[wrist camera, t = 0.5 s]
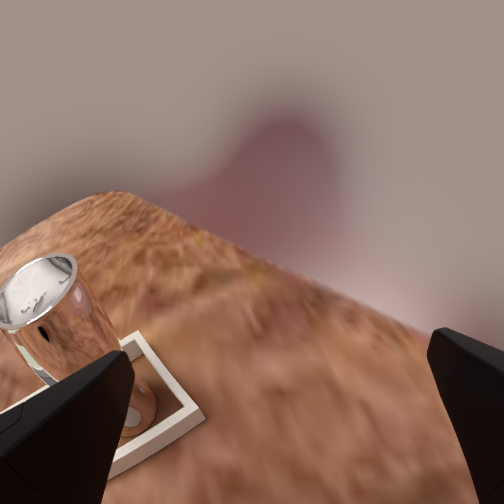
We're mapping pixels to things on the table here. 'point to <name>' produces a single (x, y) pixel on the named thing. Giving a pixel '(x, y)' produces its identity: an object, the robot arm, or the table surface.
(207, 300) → the table surface
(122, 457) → the white divided tray
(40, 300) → the shiny metal tumbler
